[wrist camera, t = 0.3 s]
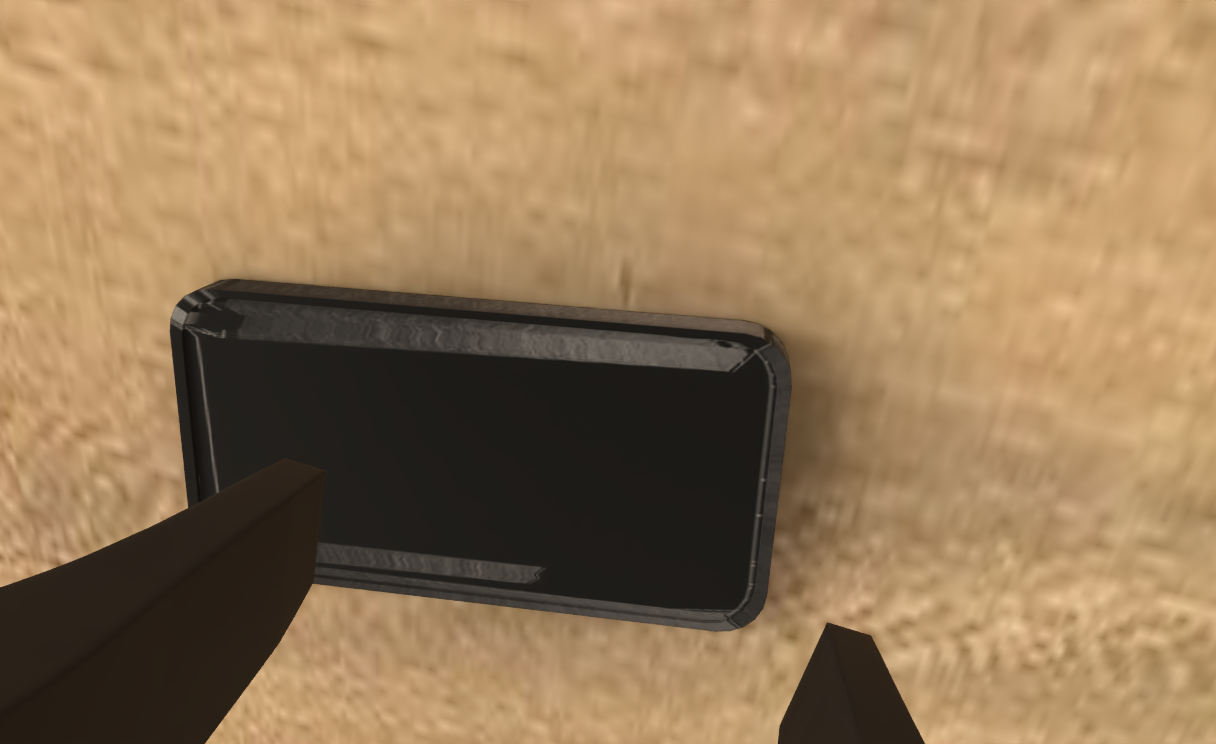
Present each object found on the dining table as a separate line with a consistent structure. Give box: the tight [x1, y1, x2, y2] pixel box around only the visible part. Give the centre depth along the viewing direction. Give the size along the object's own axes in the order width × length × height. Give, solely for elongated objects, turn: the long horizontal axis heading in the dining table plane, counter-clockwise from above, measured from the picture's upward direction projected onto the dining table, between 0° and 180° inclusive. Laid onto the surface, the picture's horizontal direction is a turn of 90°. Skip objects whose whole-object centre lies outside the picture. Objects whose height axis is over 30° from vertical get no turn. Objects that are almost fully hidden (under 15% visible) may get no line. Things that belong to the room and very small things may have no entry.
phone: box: [170, 279, 791, 631], centre depth 24 cm, size 8×1×15 cm
